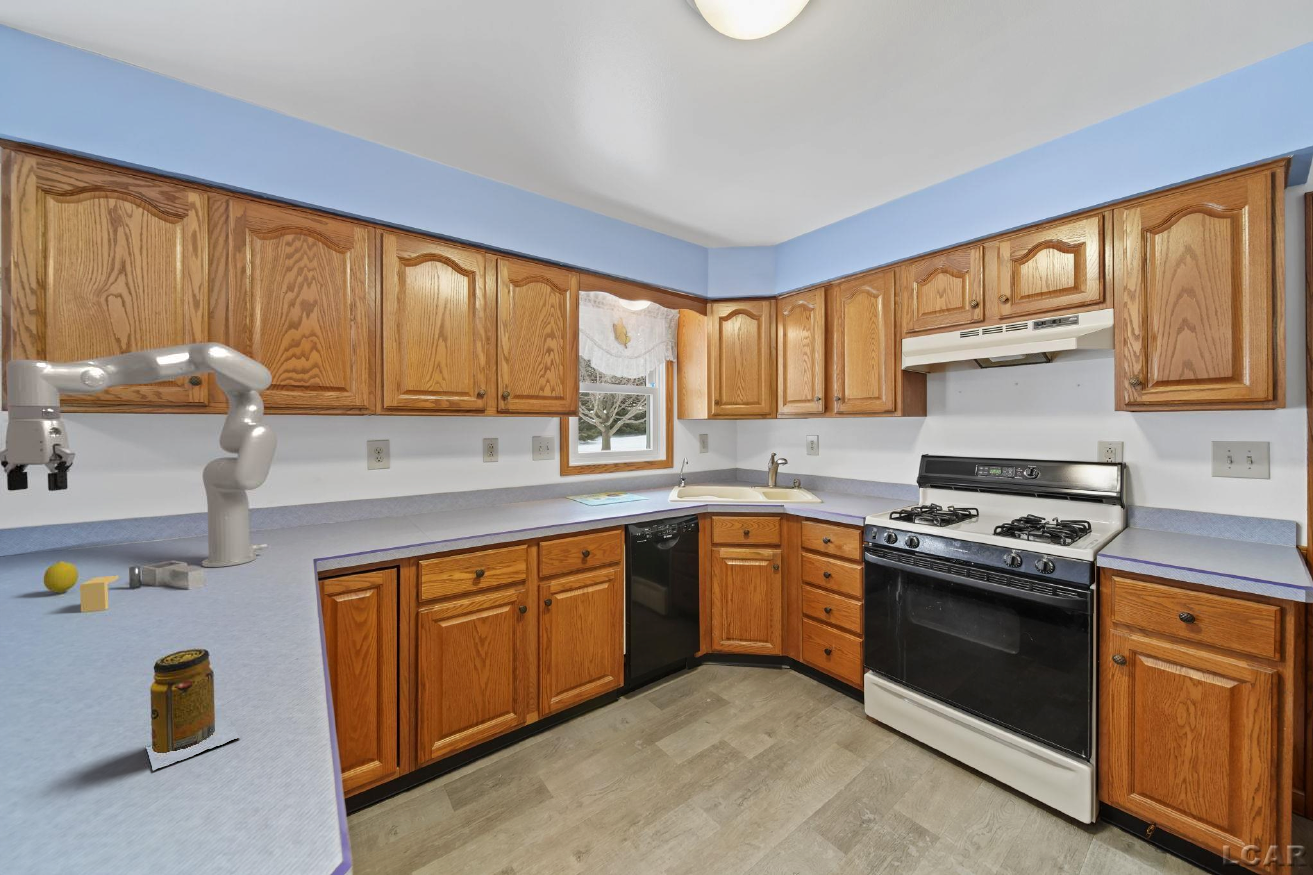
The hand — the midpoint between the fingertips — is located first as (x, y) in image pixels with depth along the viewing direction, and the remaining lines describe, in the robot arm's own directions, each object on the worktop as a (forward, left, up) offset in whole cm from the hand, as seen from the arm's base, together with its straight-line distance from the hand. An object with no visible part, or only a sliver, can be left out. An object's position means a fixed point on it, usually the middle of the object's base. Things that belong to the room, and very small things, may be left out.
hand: (37, 489), depth 116 cm
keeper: (-5, +13, -27) cm, 30 cm away
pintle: (-15, +3, -27) cm, 31 cm away
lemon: (-6, -9, -27) cm, 29 cm away
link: (-21, +8, -27) cm, 35 cm away
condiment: (+17, +93, -27) cm, 99 cm away
